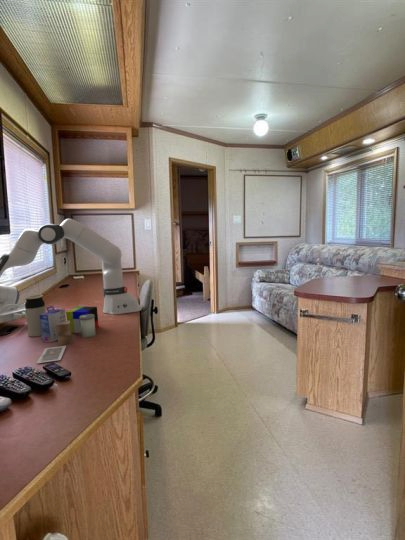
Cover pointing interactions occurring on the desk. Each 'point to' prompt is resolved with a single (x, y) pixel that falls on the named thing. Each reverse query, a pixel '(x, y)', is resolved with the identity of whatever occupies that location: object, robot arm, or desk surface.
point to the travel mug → (34, 314)
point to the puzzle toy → (76, 313)
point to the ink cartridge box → (51, 323)
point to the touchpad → (52, 354)
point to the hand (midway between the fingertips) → (23, 316)
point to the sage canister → (87, 325)
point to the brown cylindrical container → (64, 333)
